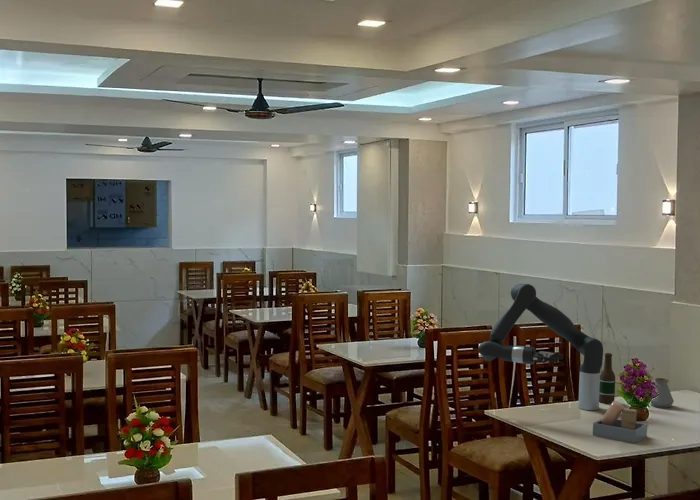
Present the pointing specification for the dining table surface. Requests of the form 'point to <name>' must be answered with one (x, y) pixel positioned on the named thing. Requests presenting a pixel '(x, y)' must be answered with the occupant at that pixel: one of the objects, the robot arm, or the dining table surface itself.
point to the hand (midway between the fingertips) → (560, 358)
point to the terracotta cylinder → (612, 413)
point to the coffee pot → (662, 394)
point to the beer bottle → (607, 381)
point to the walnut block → (629, 419)
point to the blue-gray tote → (620, 431)
